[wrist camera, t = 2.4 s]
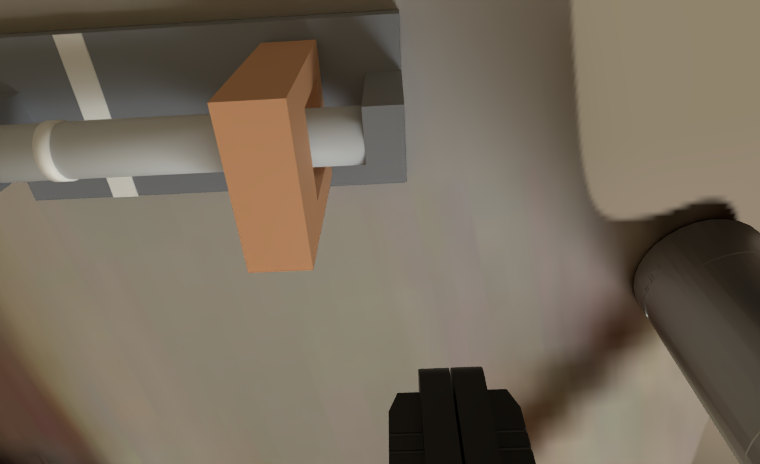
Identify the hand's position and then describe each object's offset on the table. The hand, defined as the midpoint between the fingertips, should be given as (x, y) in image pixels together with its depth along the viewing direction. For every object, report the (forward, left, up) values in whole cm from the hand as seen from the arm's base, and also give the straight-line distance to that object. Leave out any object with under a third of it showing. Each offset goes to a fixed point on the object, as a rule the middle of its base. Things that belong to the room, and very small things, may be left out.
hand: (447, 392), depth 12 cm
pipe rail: (+12, 0, -22) cm, 25 cm away
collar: (+6, 0, -21) cm, 22 cm away
